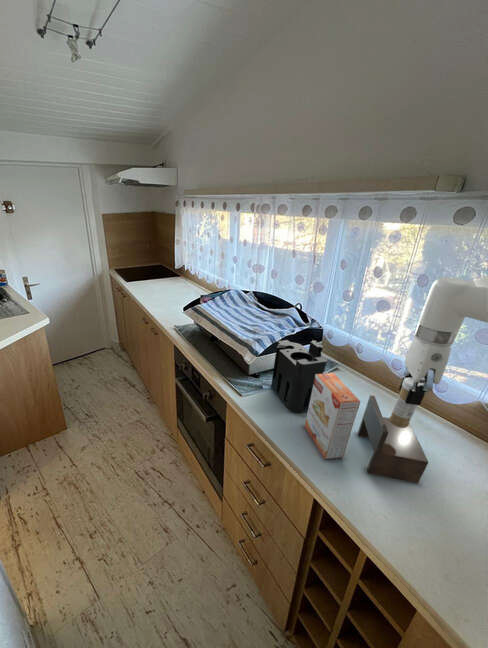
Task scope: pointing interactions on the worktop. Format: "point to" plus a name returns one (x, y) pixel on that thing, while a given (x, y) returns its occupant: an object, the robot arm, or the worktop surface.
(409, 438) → the spice shelf
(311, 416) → the cracker box
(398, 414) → the sprinkles bottle
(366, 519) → the worktop surface
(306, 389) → the black machined bracket
